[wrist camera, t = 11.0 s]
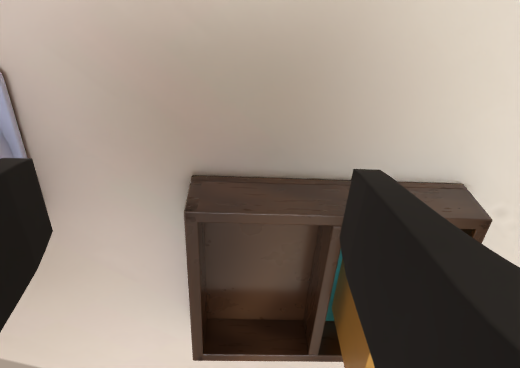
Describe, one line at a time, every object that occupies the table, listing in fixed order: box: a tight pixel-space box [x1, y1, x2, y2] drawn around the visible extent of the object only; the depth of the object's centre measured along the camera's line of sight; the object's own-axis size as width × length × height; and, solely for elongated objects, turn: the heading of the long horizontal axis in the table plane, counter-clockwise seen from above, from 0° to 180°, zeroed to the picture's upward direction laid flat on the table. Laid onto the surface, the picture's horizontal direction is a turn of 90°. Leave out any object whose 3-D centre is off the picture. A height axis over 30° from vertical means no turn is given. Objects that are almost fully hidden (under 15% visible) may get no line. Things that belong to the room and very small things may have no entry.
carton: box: [332, 259, 375, 368], centre depth 20 cm, size 4×7×6 cm, turn 177°
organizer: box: [184, 176, 492, 362], centre depth 22 cm, size 14×11×3 cm
